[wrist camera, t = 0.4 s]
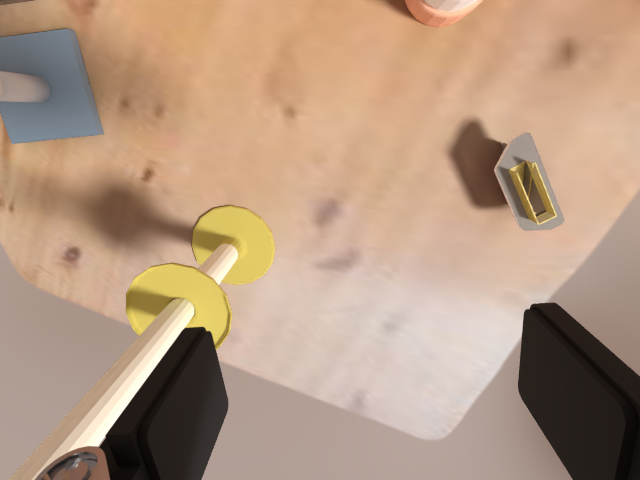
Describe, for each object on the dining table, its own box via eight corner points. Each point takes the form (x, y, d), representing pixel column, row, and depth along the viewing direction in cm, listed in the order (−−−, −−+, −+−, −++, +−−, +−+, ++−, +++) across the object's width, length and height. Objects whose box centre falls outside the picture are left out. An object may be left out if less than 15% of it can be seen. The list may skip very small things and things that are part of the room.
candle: (177, 223, 42) (-261, 512, 12) (252, 192, 40) (-25, 435, 10) (216, 294, 45) (-50, 678, 14) (288, 268, 43) (161, 641, 13)
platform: (483, 270, 42) (508, 297, 36) (417, 133, 38) (432, 137, 32) (587, 223, 40) (632, 242, 34) (530, 69, 35) (570, 60, 29)
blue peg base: (-17, 42, 37) (-106, 24, 29) (74, 30, 36) (6, 9, 29) (19, 143, 40) (-54, 149, 33) (103, 134, 39) (49, 138, 32)
